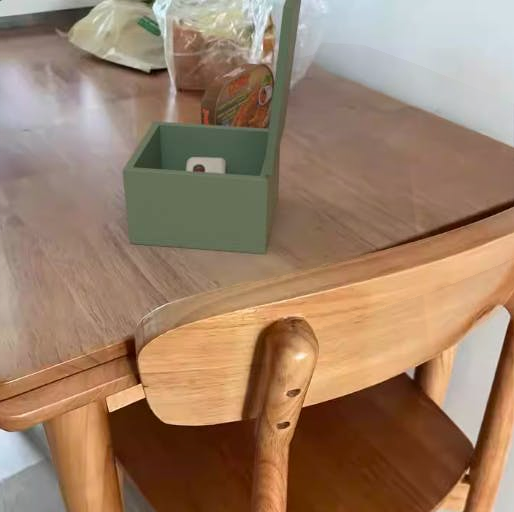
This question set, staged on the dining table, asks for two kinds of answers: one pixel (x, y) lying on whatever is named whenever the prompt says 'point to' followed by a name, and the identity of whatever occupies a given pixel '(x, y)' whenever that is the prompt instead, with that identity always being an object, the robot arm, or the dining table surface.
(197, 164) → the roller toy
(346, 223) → the dining table surface
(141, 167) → the chest
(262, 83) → the tin
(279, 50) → the lid
